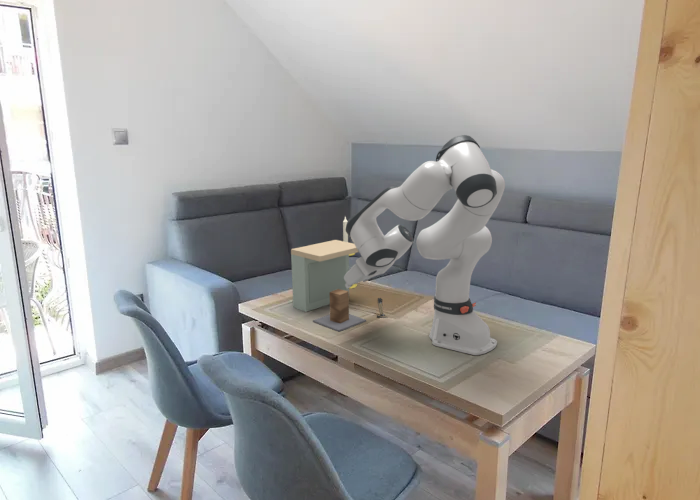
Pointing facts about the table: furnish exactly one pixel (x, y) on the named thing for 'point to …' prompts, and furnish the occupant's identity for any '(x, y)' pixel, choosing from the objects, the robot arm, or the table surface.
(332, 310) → the walnut block
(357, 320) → the mat
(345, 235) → the candle
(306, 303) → the cabinet
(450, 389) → the table surface
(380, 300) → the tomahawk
